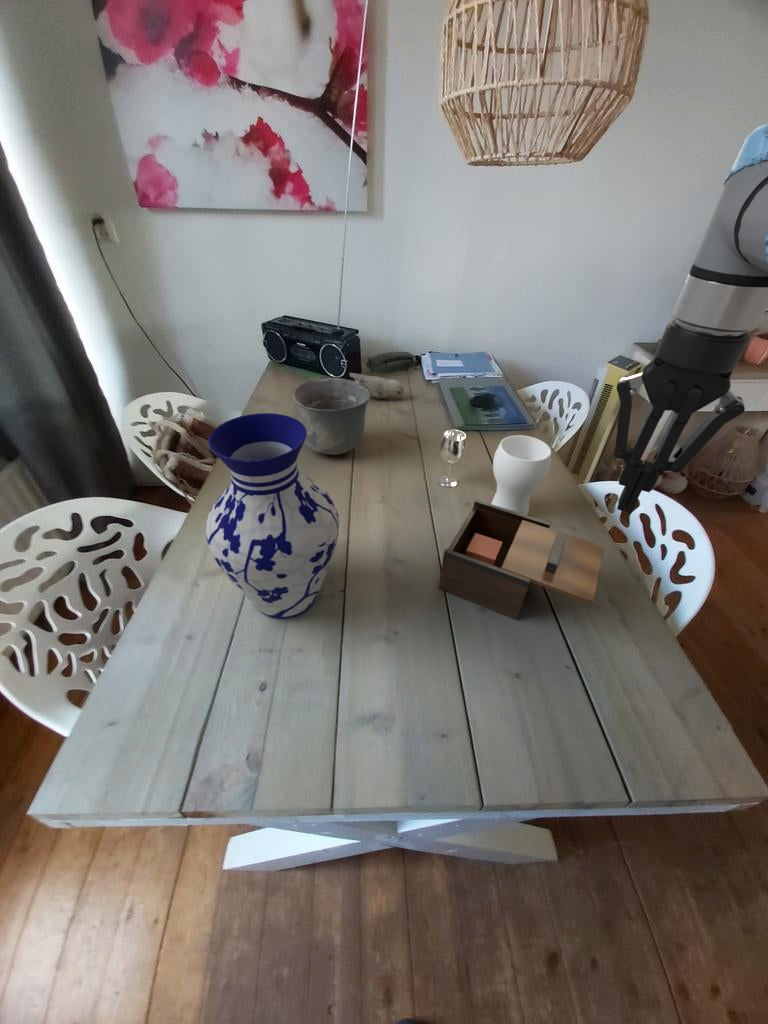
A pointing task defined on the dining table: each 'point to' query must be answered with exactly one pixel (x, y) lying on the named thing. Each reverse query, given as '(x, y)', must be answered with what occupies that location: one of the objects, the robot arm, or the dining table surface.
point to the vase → (270, 516)
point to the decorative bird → (379, 386)
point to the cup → (519, 471)
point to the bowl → (331, 414)
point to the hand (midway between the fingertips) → (624, 505)
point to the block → (484, 549)
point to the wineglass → (452, 453)
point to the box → (479, 577)
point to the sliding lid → (555, 561)
